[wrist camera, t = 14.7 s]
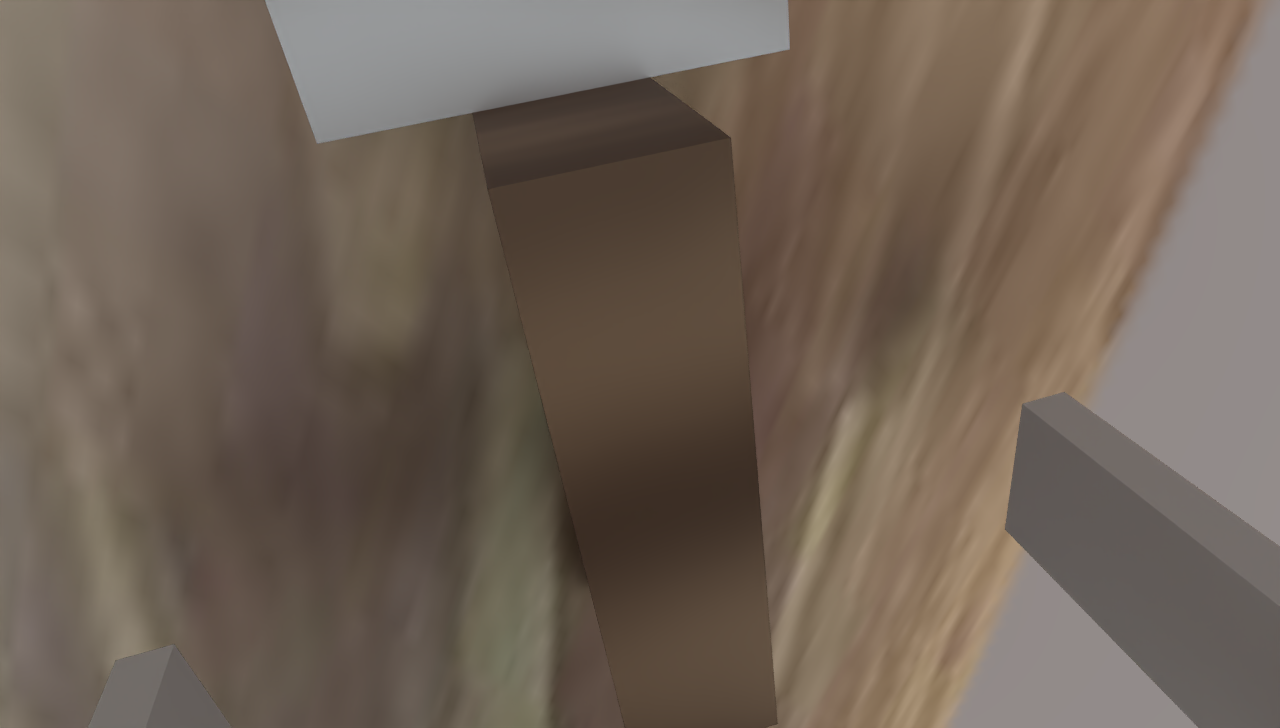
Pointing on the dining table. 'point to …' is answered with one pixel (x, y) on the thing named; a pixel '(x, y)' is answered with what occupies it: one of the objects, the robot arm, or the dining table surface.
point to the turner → (604, 294)
